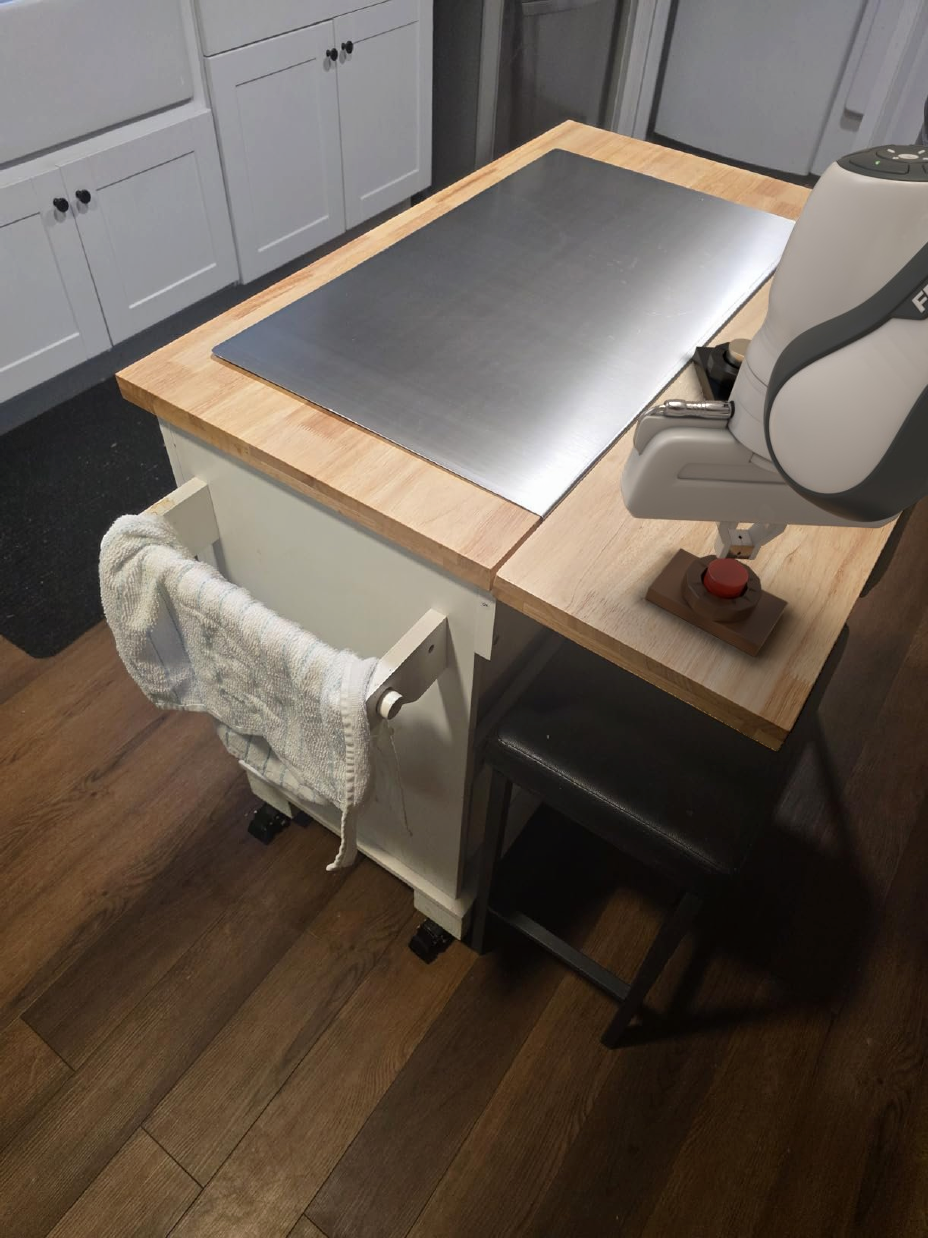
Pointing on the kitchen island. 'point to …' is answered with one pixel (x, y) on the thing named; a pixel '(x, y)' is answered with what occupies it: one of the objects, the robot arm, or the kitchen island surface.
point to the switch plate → (714, 372)
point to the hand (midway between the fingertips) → (733, 553)
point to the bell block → (716, 602)
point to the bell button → (725, 578)
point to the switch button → (736, 352)
